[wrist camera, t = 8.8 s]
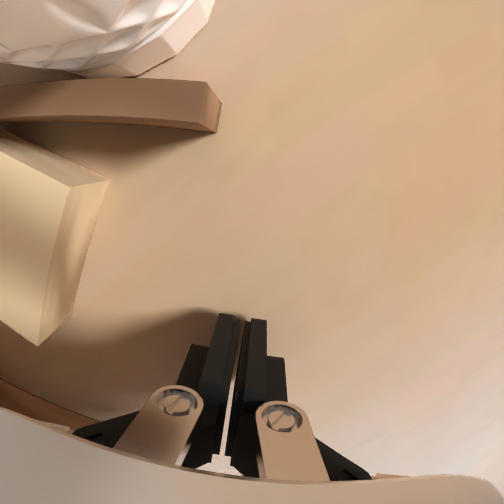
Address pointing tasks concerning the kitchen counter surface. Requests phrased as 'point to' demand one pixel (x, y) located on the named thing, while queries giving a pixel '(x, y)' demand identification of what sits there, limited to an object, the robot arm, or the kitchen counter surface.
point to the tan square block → (42, 234)
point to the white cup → (98, 34)
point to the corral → (102, 111)
